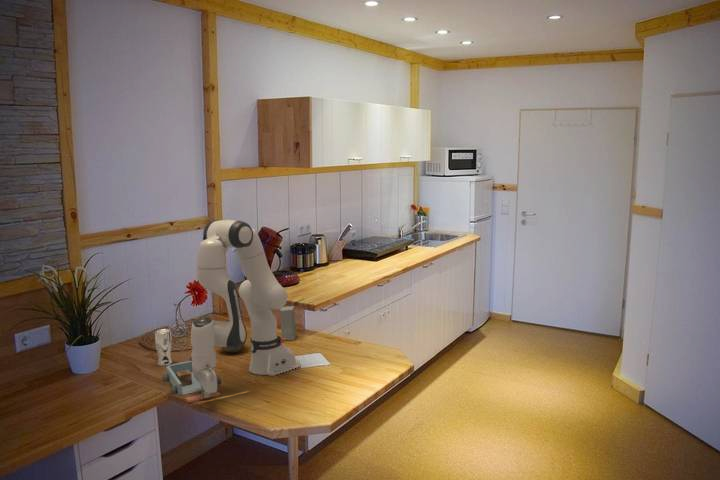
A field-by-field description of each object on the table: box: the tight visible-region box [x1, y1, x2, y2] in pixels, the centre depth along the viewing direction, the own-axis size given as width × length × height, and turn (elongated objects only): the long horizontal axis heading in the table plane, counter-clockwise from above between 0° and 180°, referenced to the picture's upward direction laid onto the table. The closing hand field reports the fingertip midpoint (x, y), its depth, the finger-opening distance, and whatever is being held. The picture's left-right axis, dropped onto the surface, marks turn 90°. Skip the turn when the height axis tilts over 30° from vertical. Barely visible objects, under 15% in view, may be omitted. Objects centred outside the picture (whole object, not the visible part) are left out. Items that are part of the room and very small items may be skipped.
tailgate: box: [185, 391, 221, 403], centre depth 220 cm, size 12×1×8 cm
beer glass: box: [154, 328, 173, 367], centre depth 256 cm, size 7×7×15 cm
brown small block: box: [176, 370, 192, 386], centre depth 231 cm, size 5×5×4 cm
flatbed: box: [161, 360, 222, 396], centre depth 233 cm, size 19×22×6 cm
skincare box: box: [279, 305, 297, 341], centre depth 288 cm, size 8×7×16 cm
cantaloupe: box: [221, 319, 248, 353], centre depth 270 cm, size 14×14×15 cm
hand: (205, 395), depth 218 cm, fingers closed
